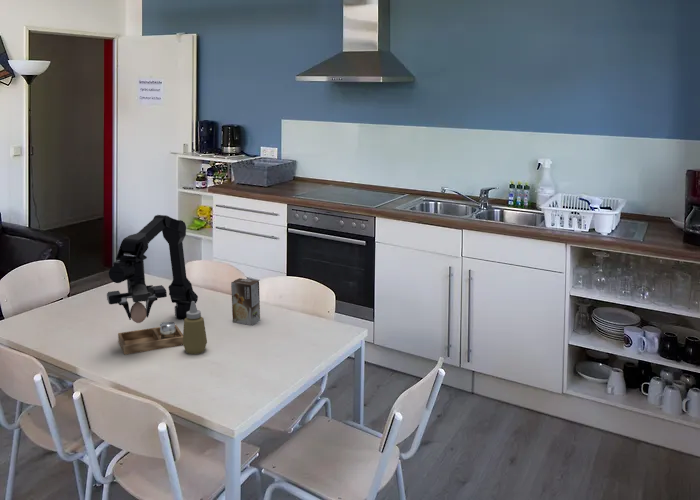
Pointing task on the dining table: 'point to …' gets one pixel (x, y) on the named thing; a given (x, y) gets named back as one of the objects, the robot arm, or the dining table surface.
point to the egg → (138, 312)
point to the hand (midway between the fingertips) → (138, 318)
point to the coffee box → (245, 301)
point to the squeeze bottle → (194, 331)
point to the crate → (147, 340)
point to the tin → (167, 330)
